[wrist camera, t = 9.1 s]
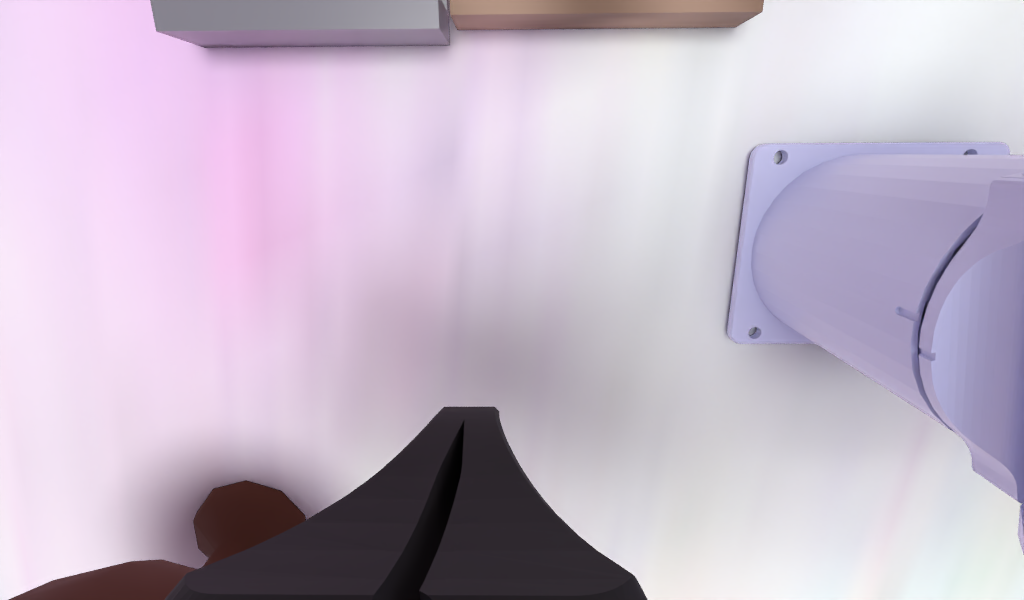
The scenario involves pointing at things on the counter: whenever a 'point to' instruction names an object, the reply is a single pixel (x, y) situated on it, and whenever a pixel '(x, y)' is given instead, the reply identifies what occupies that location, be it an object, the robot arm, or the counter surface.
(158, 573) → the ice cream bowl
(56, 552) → the counter surface
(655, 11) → the walnut board
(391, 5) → the tray
